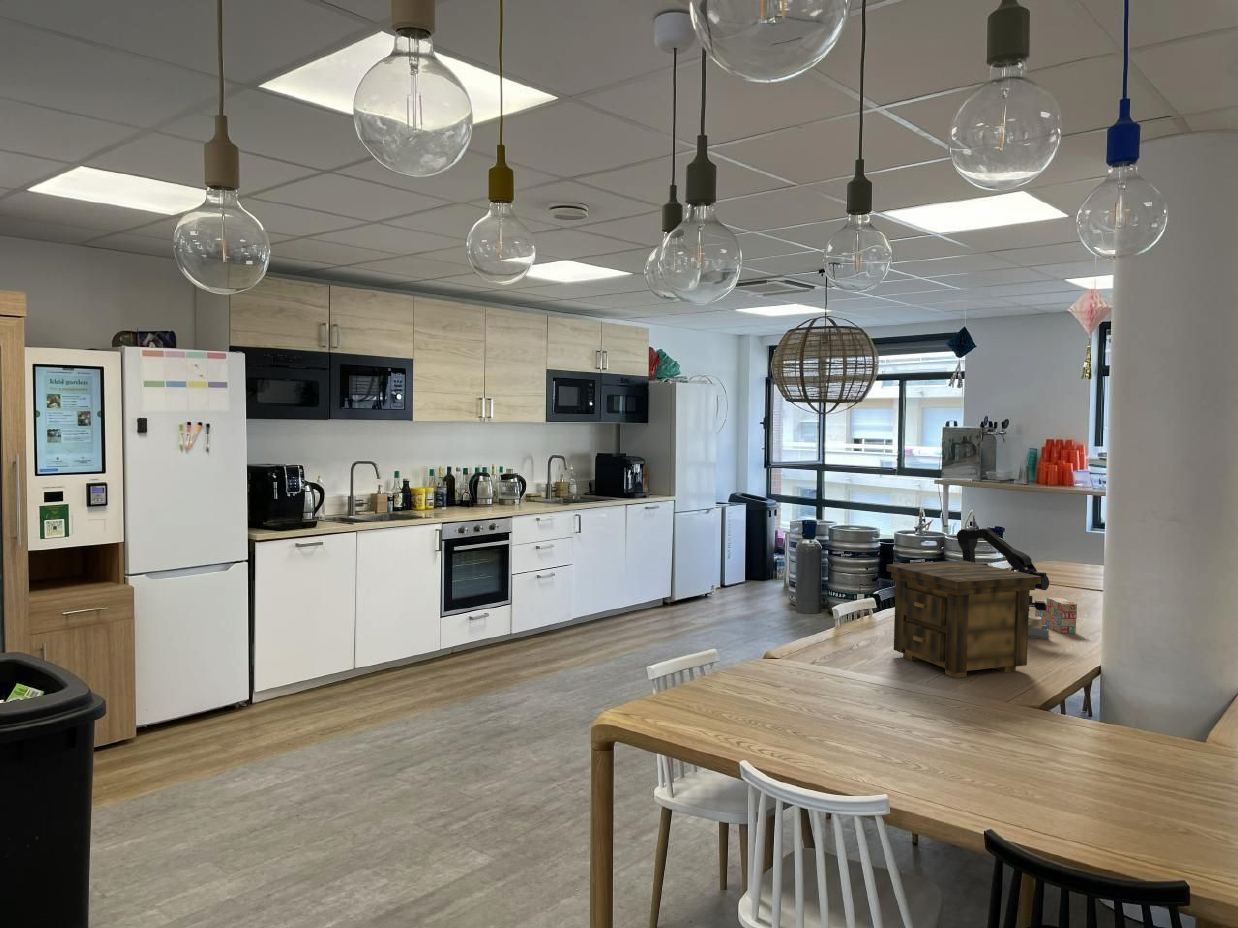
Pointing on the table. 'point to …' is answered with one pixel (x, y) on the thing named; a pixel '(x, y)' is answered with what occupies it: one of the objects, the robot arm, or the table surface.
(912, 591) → the wooden nightstand
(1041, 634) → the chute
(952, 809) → the table surface
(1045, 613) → the stack of blocks
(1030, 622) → the block
